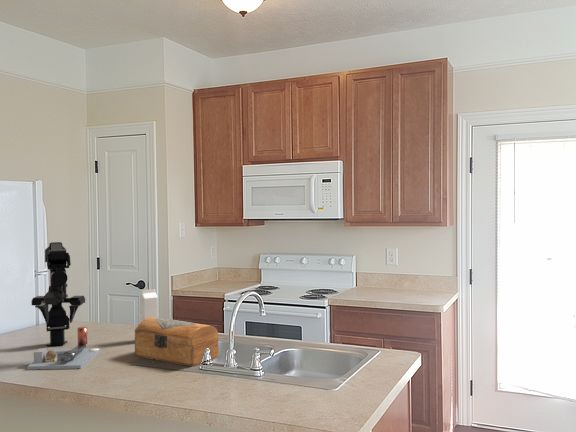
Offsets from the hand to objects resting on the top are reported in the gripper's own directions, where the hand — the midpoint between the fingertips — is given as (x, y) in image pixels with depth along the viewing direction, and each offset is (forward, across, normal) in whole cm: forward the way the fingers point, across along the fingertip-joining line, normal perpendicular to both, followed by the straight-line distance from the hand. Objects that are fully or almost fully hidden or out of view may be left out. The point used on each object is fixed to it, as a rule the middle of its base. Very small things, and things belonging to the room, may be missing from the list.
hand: (59, 322), depth 216 cm
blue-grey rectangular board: (+13, +4, -4) cm, 15 cm away
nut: (+10, +1, -10) cm, 14 cm away
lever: (+11, +7, -3) cm, 13 cm away
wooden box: (+14, +45, -2) cm, 47 cm away
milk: (+14, +29, +26) cm, 41 cm away
